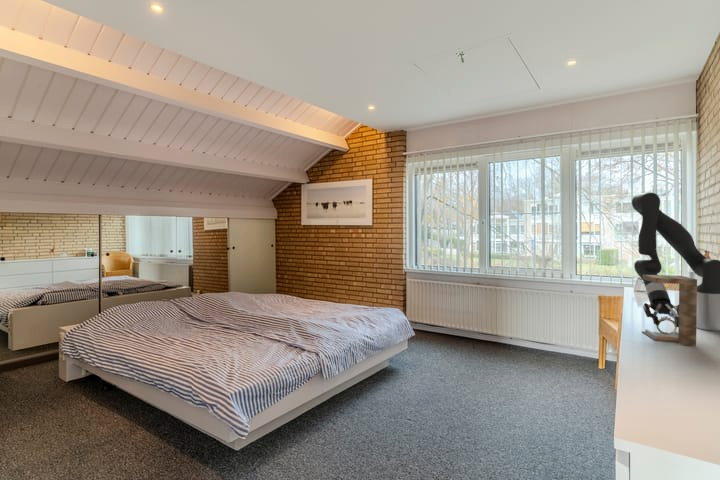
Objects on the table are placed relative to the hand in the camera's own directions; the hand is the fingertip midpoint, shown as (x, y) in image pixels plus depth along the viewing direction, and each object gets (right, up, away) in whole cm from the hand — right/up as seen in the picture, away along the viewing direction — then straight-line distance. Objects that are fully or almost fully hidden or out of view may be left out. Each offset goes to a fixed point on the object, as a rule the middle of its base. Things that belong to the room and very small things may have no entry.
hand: (668, 325), depth 169 cm
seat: (0, -6, +1) cm, 6 cm away
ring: (0, -5, +2) cm, 5 cm away
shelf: (-3, -6, -3) cm, 7 cm away
